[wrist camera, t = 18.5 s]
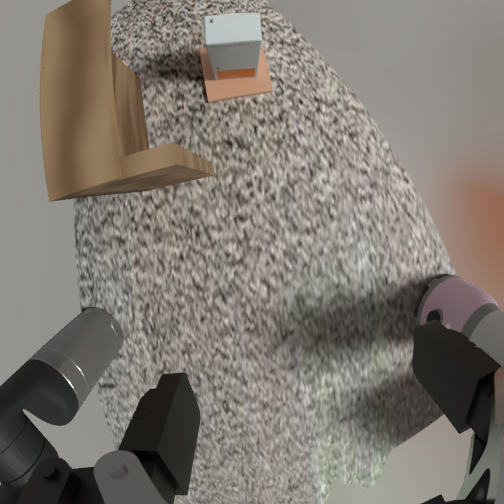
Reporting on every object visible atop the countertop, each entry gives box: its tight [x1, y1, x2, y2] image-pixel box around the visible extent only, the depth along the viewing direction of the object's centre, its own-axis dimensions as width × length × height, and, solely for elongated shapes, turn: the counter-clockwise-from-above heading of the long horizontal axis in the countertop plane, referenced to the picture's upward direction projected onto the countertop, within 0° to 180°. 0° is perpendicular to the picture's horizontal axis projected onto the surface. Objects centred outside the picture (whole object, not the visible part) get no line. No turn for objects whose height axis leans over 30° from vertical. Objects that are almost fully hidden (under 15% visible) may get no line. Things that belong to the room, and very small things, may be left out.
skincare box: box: [204, 13, 262, 80], centre depth 30 cm, size 6×4×12 cm
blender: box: [414, 275, 504, 366], centre depth 29 cm, size 16×12×32 cm
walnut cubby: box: [40, 0, 214, 202], centre depth 27 cm, size 10×18×23 cm, turn 10°
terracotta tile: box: [199, 43, 273, 103], centre depth 36 cm, size 9×9×1 cm
